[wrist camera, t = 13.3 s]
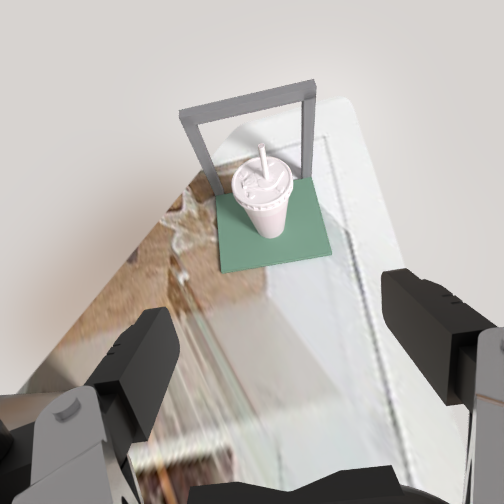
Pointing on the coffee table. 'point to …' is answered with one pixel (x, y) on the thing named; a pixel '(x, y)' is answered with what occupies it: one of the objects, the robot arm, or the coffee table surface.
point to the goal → (300, 200)
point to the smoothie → (264, 192)
